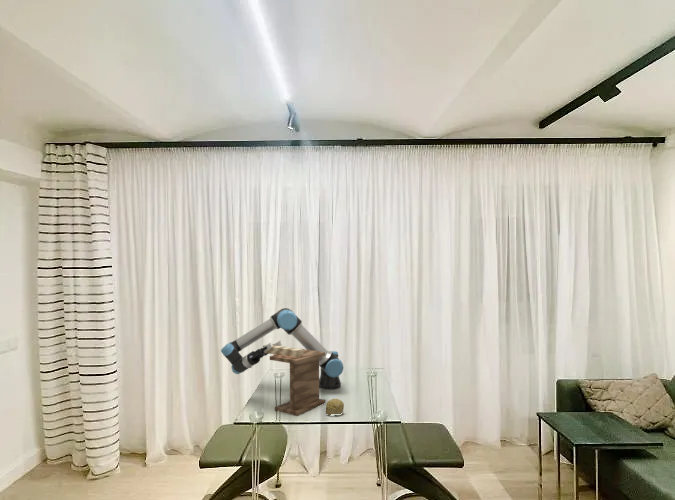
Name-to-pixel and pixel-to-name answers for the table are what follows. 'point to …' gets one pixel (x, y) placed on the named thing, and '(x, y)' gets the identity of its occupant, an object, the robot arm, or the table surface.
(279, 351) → the bar
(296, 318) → the robot arm
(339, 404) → the rock
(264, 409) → the table surface
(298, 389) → the stand
